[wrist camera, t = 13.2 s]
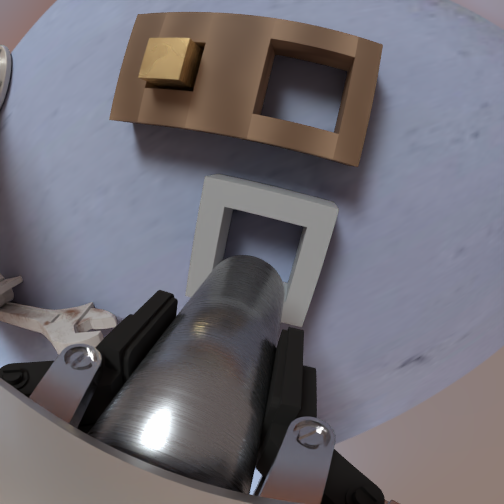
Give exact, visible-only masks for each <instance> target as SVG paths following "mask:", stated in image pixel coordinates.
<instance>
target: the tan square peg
mask: <svg viewBox="0 0 504 504" xmlns="http://www.w3.org/2000/svg"><path fill="white" fill-rule="evenodd" d="M202 55H203V50H202V49H201V48H200V47H199V46H198V45H197V44H196V43H195V42H194V41H193V40H191V39H190V38H149V41H148V44H147V47H146V51H145V54H144V58H143V61H142V65H141V69H140V72H139V76H138V78H140V79H143V80H145V81H147V82H150V83H152V84H154V85H157V86H159V87H161V88H163V89H170V90H181V91H191V92H193V90H194V86H195V82H196V78H197V74H198V70H199V66H200V62H201V59H202Z"/></svg>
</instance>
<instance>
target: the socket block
mask: <svg viewBox="0 0 504 504" xmlns="http://www.w3.org/2000/svg"><path fill="white" fill-rule="evenodd" d="M149 38H190V39H191V40H193V41H194V42H195V43H196V44H197V45H198V46H199V47H200V48H201V49H202V50H203V55H202V59H201V62H200V66H199V70H198V74H197V78H196V82H195V86H194V90H193V92H191V91H181V90H170V89H163V88H161V87H159V86H157V85H154V84H152V83H150V82H147V81H145V80H143V79H140V78H138V76H139V72H140V69H141V65H142V61H143V58H144V54H145V51H146V47H147V44H148V41H149ZM382 47H383V45H382V44H379V43H376V42H373V41H370V40H367V39H364V38H360V37H357V36H354V35H350V34H347V33H343V32H339V31H335V30H331V29H327V28H323V27H319V26H314V25H310V24H305V23H300V22H294V21H288V20H282V19H276V18H269V17H261V16H253V15H243V14H230V13H212V12H167V13H149V14H138V15H137V18H136V21H135V24H134V27H133V30H132V33H131V36H130V39H129V42H128V46H127V49H126V52H125V56H124V59H123V63H122V67H121V70H120V74H119V78H118V82H117V86H116V91H115V95H114V99H113V104H112V109H111V114H110V119H109V120H115V121H123V122H130V123H139V124H148V125H157V126H165V127H172V128H180V129H186V130H193V131H199V132H206V133H212V134H217V135H223V136H228V137H234V138H239V139H244V140H249V141H254V142H258V143H263V144H268V145H272V146H276V147H281V148H285V149H289V150H293V151H297V152H301V153H305V154H309V155H313V156H317V157H320V158H324V159H328V160H331V161H335V162H338V163H342V164H345V165H349V166H355V167H358V165H359V161H360V157H361V153H362V149H363V145H364V140H365V136H366V131H367V127H368V122H369V118H370V113H371V108H372V103H373V98H374V93H375V88H376V82H377V77H378V71H379V65H380V59H381V53H382ZM275 55H280V56H285V57H290V58H295V59H300V60H305V61H309V62H313V63H318V64H322V65H326V66H330V67H333V68H337V69H341V70H344V71H347V75H346V80H345V85H344V90H343V94H342V99H341V104H340V108H339V113H338V117H337V122H336V126H335V131H334V133H333V132H329V131H326V130H322V129H318V128H314V127H310V126H306V125H302V124H298V123H294V122H290V121H285V120H281V119H276V118H272V117H267V116H262V115H261V111H262V107H263V103H264V99H265V94H266V90H267V86H268V82H269V78H270V73H271V69H272V65H273V61H274V57H275Z"/></svg>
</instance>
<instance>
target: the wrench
mask: <svg viewBox="0 0 504 504" xmlns="http://www.w3.org/2000/svg"><path fill="white" fill-rule="evenodd" d="M0 321H3V322H6V323H9V324H12V325H15V326H18V327H22V328H25V329H28V330H32V331H35V332H39V333H42V334H43V335H44V336H45V337H46V338H47V339H48V340H49V341H50V342H51V343H52V344H53V346H54V348H55V349H56V351H57V353H58V355H59V354H60V353H61V351H62V350H63V349H65V348H66V347H68V346H70V345H73V344H87V345H90V346H93V347H96V346H97V345H98V344H99V343H100V342H101V341H102V340H103V339H104V338H103V335H102V332H101V331H92V332H87V331H89V330H90V329H92V328H93V329H107V328H113V327H115V326H116V325H117V319H116V316H115V315H113V314H112V313H110V312H108V311H105V310H102V309H96V308H94V305H93V302H91V303H88V304H85V305H82V306H79V307H73V308H68V309H60V310H49V309H43V308H37V307H32V306H27V305H22V304H17V303H12V302H8V303H6V304H4V305H3V306H1V307H0Z"/></svg>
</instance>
